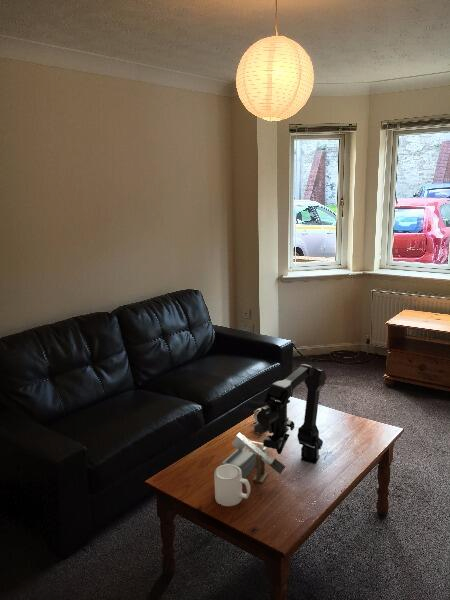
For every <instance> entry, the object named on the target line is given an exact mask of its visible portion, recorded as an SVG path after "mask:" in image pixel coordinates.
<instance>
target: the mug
mask: <svg viewBox="0 0 450 600" xmlns="http://www.w3.org/2000/svg"><path fill="white" fill-rule="evenodd" d="M213 474H214V475H213V476H214V497H215V498H214V499H215V501H216V503H217V504H219V505H220V504H221V506H223V507H233V506H236V505H238V504H240V503H241V502H242V500H243V499H245V500H247V499H249V496H250V493H251V484H250V482H249V480H248V478H246V479H243V478H242V471H241V469H240V468H239V467H238V466H236V465H232V464H225V465H222V464H221V465H219V466H217V467H216V468H214V472H213ZM243 484H244V487H245V488H246V493H244V492H243Z"/></svg>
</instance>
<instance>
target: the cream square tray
mask: <svg viewBox="0 0 450 600" xmlns="http://www.w3.org/2000/svg"><path fill="white" fill-rule="evenodd" d="M250 441H251V442H252V443H256V444H257V445H258V448H259V449H264V450H265V453H266V454H267V455H268V453H269V448H268V447H264V446H263V442H259V441H253V440H250ZM243 451H247V452H251V451H250V450H249V449H248V448H247V447H246V446H245V447H244V448H243Z"/></svg>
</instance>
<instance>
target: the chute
mask: <svg viewBox="0 0 450 600" xmlns="http://www.w3.org/2000/svg"><path fill="white" fill-rule="evenodd" d="M225 464H232V465H236V466H238V467H239V468H240V469H241V471H242V478H243V479H247V478H248V477H249V475H250V473H251V472H252V471H253V469H254V468H256V455H255V454H254V453H253V452H247V451H243V450H242V451H240V450H238V449H237V448H236V449H235V450H234V451H233V452H232V453H231V454H230V455H228V457H227V458H225V460H223V461H222V462H221V465H225Z"/></svg>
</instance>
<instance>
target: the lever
mask: <svg viewBox="0 0 450 600" xmlns="http://www.w3.org/2000/svg"><path fill="white" fill-rule="evenodd" d="M251 441H252V440H250V439H249V438H247V437H246V436H245V435H244V434H242V433H241V432H240V431H239V432H238V433H237V434H236V435H235V437H234V439H233V440H232V443H231V445H232V446H233V447H235V448H236V450H237V449H238V450H240V451H242V450H243V448H244V447H245V446H246V447H247V448H248V449H249V450H251V451H252V452H253V453H254V454H255V455H256V454H259V455H260V456H261V460H263V461H264V462H265V465H267V466H269V467H270V468H271V469H272V470H273V471H274V472H276V473H277V474H278V475H281V474H282V472H283V471H284V470H285V468H286V466H285V465H284V464H283V463H282V462H280V461H279V460H278V459H277V458H272V457H270V456H269V455H268V453H267V454H266V453H264V452H263V451H262V450H261V449H259V448H258V447H257V446H256V445H255V444H253V443H252V442H251Z"/></svg>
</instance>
